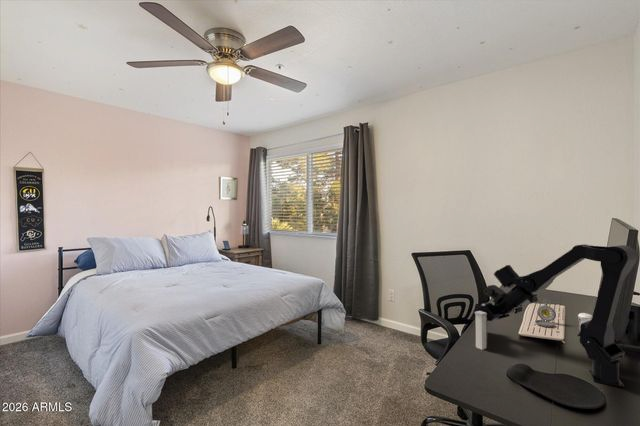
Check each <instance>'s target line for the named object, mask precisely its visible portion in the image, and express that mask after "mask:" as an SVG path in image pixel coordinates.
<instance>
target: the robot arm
mask: <svg viewBox="0 0 640 426" xmlns="http://www.w3.org/2000/svg"><path fill="white" fill-rule="evenodd" d="M638 256H639V255H638V252H636V250H635V249H634V248H632V247H631V246H628V245H624V244H619V245H615V246H614V245H613V246H602V245H601V246H599V245H590V244H586V243H585V244H576V245H574V246H573V247H572V248H571V249H570V250H568V251H566V252H565V253H564V254H562V255H561V256H560V257H558V258H556V259H555V260H553V261H552V262H551V263H549V264H548V265H546V266H545V267H543V268H542V269H539V270H537V271H534V272H531V273H528V274H526V275H522V276H519V274H518V273H517V272H516V271H515V270H514V268H513V267H512V266H511V264H506V265H505V266H503V267H501V268H499V269H497V270H496V271H494V273H493V276H494V277H495V278H496V280H498V282H499V283H500V284H501V285H502V286H503V288H508V289H510V290H509V291H507V292H506V291H504V290H503V289H502V288H500V287H498V285H495V284H492V285H491V284H489V285H487V286H486V287H485V288H484V289H483V292H484V294H485V295H486V296H488V297H490V298H491V299H493V300H492V301H493V303H494V304H492V303H491V302H489V301H488V302H484V303H483V302H482V303H481V304H480V305H479V306H478V308H479V309H480V310H479V311H482V312H485V313H487V315H486V318H487V322H493V321H496V320H501V319H504V318H508V317H510V314H512V313H513V314H514V315H519V314H521V313H522V312H523V304H525V303H526V302H529V303H531V304H532V303H538V302H539V299H538V294H537V292H540V291H544V290H546V289H547V288H549V287H550V286H551V284H553V282H554V281H555V280H556V278H557V277H559V276H560V275H562V274H563V273H565V272H567V271H568V270H569V269H571V268H573V267H574V266H576V265H577V264H579V263H581V262H582V261H583V260H585V259H586V260H590V261H594V262H600V268H601V272H602V277H601V281H600V285H599V289H598V292H597V293H598V294H597V297H596V301H595V305H594V307H593V308H594V309H593V312H592V315H593V316H592V319H591V320H590V321H587V322H584V323H582V324H581V326H580V327H579V332H578V334H577V337H579V344H580V345H581V346H582V348H584V350H585V352H586V355H587V357H588V359H589V360H591V361H592V363H591V364H592V365H591V367H592V370H591V369H588V373H589V375H590V377H591V379H592V381H593V382H595V383H600V384H605V385H610V386H615V387H619V388H620V387H621V388H625V385H624V383H623V382H622V381H621V379H620V361H619V360H621V359H623V357H624V356H625V353H626V352H625V351H624V350H623V349H622V348H621V347H620V346H619V345H618V344H617V343H616V342H615V331H614V328H613V327H614V326H613V323H614V322H613V321H614V319H615V318H614V317H615V315H616V310H617V306H618V303H619V299H620V296H621V292H622V288H623V285H624V282H625V281H624V280H625V279H626V277H627V276H628V274H629V273H630V272H631V270H632V269H633V268H634V266H635V264H636V263H637V260H638V259H639V257H638Z"/></svg>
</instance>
